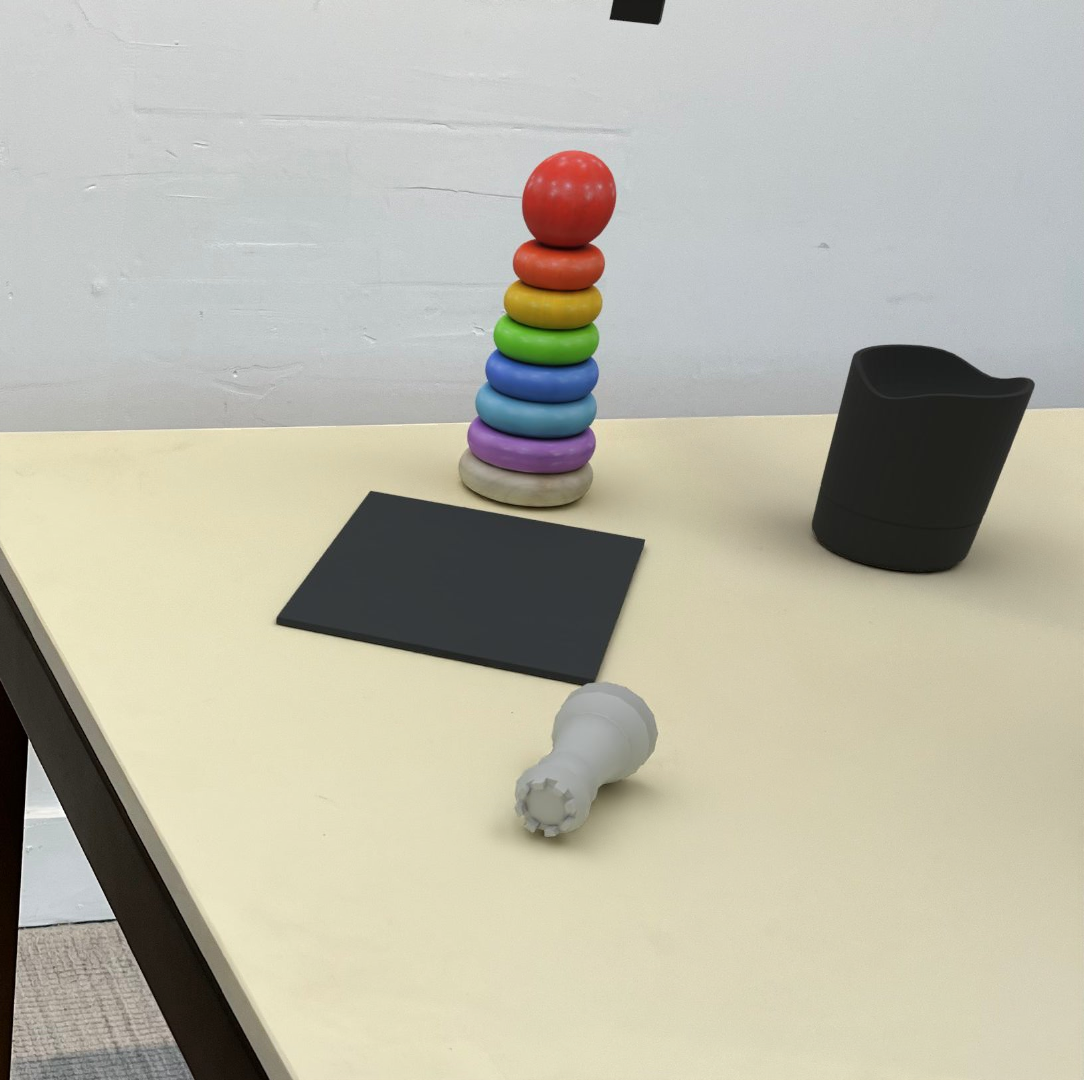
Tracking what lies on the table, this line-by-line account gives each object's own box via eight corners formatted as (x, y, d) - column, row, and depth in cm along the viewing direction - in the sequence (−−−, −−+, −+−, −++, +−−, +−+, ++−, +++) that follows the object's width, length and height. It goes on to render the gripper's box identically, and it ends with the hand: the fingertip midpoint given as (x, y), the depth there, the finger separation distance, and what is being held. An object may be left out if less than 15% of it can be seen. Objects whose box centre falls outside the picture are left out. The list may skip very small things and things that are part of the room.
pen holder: (954, 524, 109) (1012, 353, 103) (989, 585, 102) (1054, 405, 96) (792, 507, 110) (840, 337, 105) (815, 566, 103) (868, 386, 97)
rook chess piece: (612, 787, 82) (546, 875, 77) (542, 716, 82) (471, 800, 77) (683, 730, 79) (619, 819, 74) (610, 657, 79) (540, 741, 74)
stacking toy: (546, 460, 115) (611, 135, 104) (613, 507, 109) (690, 167, 98) (433, 468, 113) (487, 137, 102) (495, 516, 107) (559, 170, 96)
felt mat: (643, 545, 104) (645, 539, 104) (592, 687, 89) (594, 679, 89) (369, 496, 108) (370, 490, 108) (275, 623, 93) (276, 616, 93)
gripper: (681, -514, 95) (584, -1, 109) (654, -541, 85) (550, 28, 99) (832, -509, 93) (713, 13, 107) (821, -535, 83) (692, 44, 97)
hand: (635, 20), depth 103 cm, fingers closed
